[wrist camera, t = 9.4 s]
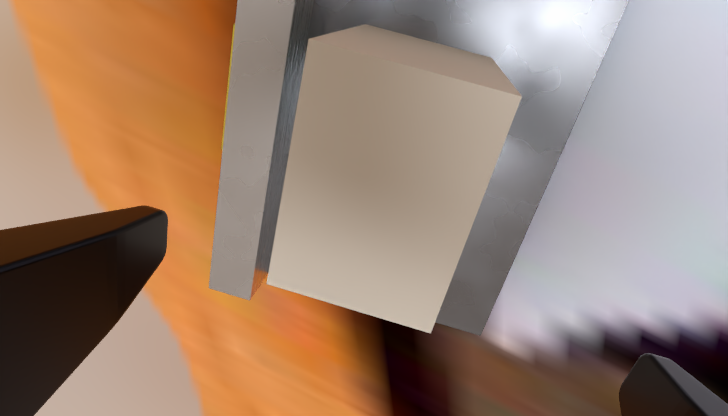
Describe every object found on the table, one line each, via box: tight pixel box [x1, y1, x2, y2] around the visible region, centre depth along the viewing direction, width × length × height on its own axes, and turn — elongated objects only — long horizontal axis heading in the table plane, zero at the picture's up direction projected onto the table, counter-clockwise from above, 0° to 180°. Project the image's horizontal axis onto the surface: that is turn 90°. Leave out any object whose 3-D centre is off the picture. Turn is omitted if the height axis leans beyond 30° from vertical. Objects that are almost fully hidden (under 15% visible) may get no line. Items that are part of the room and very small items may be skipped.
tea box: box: [267, 24, 522, 333], centre depth 16 cm, size 5×7×8 cm
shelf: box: [209, 0, 629, 336], centre depth 17 cm, size 13×23×3 cm, turn 167°
